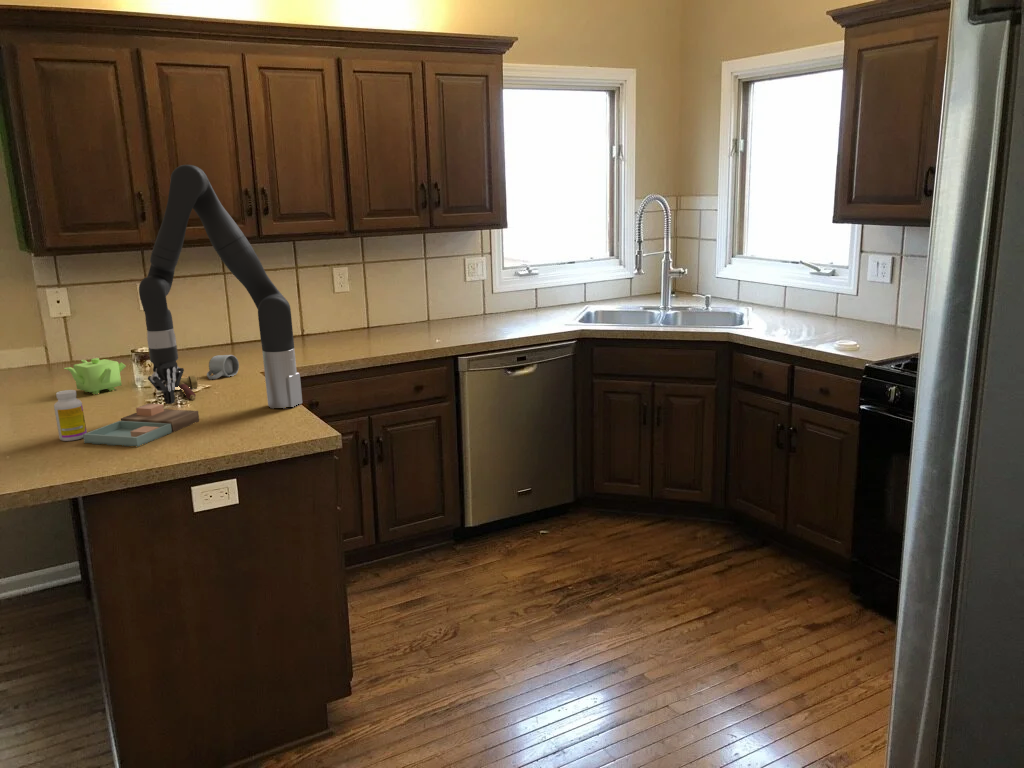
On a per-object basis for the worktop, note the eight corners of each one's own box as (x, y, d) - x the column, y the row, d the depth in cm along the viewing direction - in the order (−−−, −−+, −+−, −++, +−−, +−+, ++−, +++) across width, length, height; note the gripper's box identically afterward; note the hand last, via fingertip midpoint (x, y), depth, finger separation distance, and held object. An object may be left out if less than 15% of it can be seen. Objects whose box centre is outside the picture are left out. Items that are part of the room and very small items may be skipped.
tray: (172, 432, 221) (170, 423, 220) (137, 447, 209) (136, 437, 208) (120, 429, 226) (119, 420, 225) (84, 443, 214) (82, 434, 213)
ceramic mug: (223, 372, 295) (220, 352, 294) (240, 374, 292) (238, 353, 290) (201, 379, 286) (198, 358, 284) (219, 381, 283) (216, 359, 281)
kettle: (68, 398, 265) (62, 364, 262) (83, 388, 278) (77, 356, 276) (117, 394, 267) (111, 361, 265) (129, 385, 281) (124, 353, 278)
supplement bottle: (91, 437, 219) (84, 391, 216) (65, 443, 214) (57, 396, 211) (81, 433, 224) (74, 387, 221) (55, 438, 219) (47, 392, 216)
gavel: (209, 389, 258) (176, 394, 252) (210, 402, 259) (177, 408, 254) (193, 373, 274) (162, 378, 269) (195, 386, 276) (163, 391, 270)
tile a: (146, 432, 213) (147, 439, 213) (159, 427, 217) (160, 434, 218) (130, 431, 214) (131, 438, 215) (143, 426, 219) (145, 433, 219)
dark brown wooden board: (199, 421, 232) (198, 410, 231) (173, 432, 221) (171, 421, 221) (149, 418, 236) (148, 408, 236) (122, 428, 226) (120, 418, 226)
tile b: (163, 411, 232) (162, 404, 231) (151, 415, 227) (150, 408, 227) (149, 410, 233) (148, 403, 233) (136, 414, 229) (135, 408, 228)
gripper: (157, 349, 227) (165, 409, 231) (188, 341, 239) (195, 398, 243) (135, 349, 229) (143, 408, 233) (167, 340, 241) (174, 397, 245)
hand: (170, 403), depth 238 cm, fingers closed
